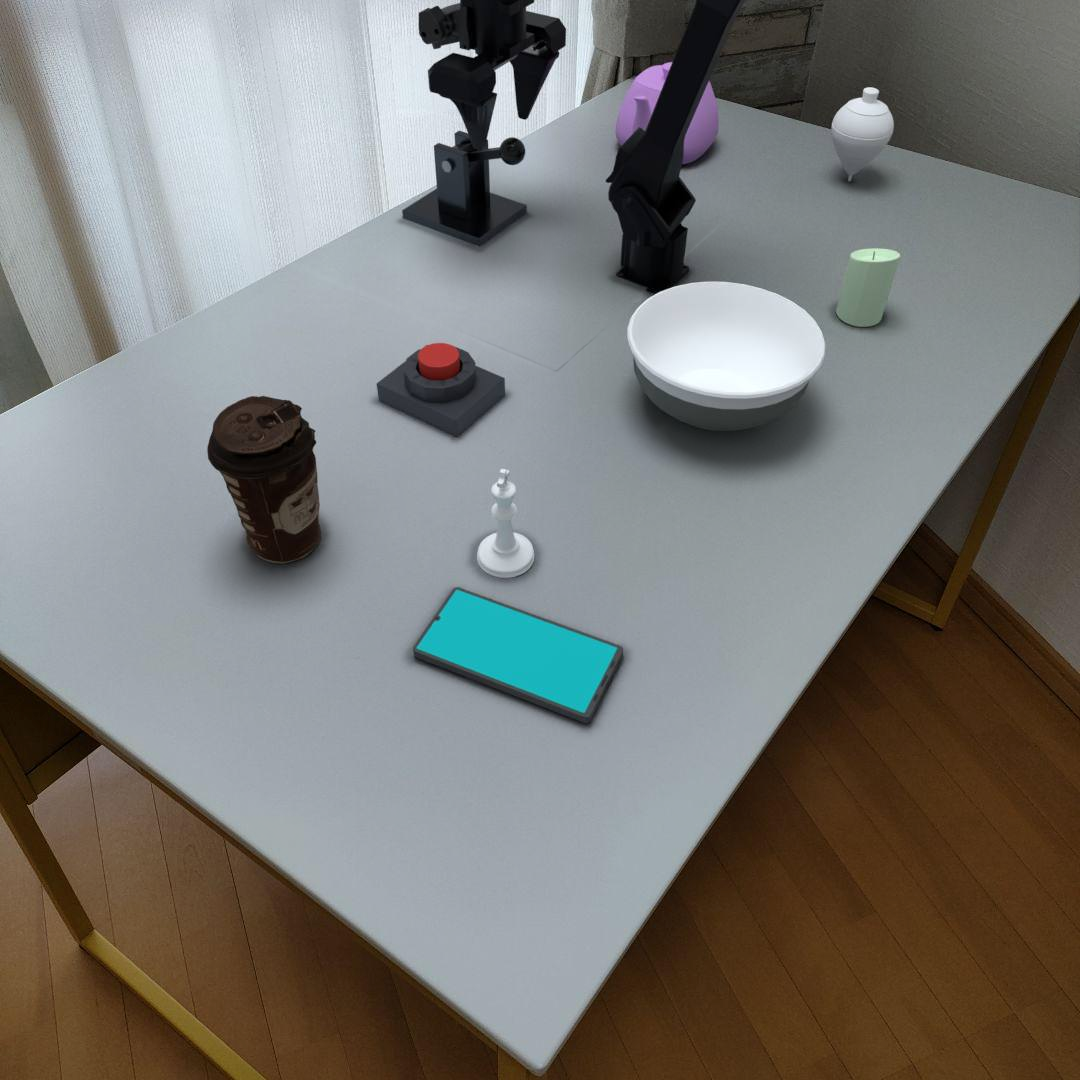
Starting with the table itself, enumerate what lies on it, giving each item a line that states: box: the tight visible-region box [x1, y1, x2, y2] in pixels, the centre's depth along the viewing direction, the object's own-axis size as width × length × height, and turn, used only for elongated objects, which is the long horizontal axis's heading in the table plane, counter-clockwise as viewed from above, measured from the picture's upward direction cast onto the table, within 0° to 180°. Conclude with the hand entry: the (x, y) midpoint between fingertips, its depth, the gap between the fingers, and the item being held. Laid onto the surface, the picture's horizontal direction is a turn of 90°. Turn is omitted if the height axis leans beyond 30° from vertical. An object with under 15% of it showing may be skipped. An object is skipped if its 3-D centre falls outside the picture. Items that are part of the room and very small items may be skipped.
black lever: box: [452, 136, 526, 169], centre depth 117 cm, size 11×3×3 cm, turn 55°
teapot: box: [614, 61, 719, 165], centre depth 135 cm, size 13×20×11 cm
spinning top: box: [830, 86, 895, 182], centre depth 128 cm, size 8×8×12 cm
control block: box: [376, 344, 506, 438], centre depth 99 cm, size 10×8×4 cm
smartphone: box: [412, 587, 624, 724], centre depth 78 cm, size 7×1×15 cm
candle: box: [835, 247, 901, 328], centre depth 108 cm, size 5×5×8 cm
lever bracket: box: [401, 130, 528, 248], centre depth 122 cm, size 12×10×10 cm
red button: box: [418, 342, 460, 380], centre depth 97 cm, size 4×4×2 cm
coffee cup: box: [206, 395, 322, 564], centre depth 82 cm, size 9×8×13 cm
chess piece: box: [476, 468, 535, 579], centre depth 82 cm, size 5×5×10 cm
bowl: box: [626, 281, 826, 432], centre depth 97 cm, size 19×19×8 cm
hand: (501, 133), depth 113 cm, fingers open, 9 cm apart
